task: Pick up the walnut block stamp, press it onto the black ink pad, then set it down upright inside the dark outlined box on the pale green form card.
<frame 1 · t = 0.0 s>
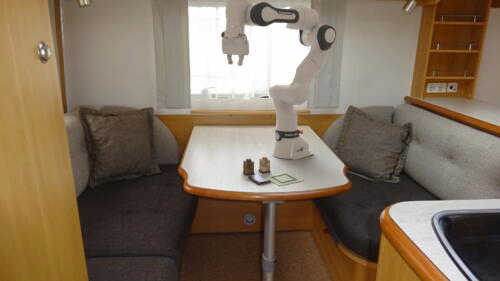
hand: (235, 64, 169), 48 cm above the table, fingers open, 8 cm apart
walnut stamp: (248, 173, 167), on the table
form card: (283, 178, 162), on the table
ink pad: (259, 180, 159), on the table
beech stamp: (264, 171, 170), on the table
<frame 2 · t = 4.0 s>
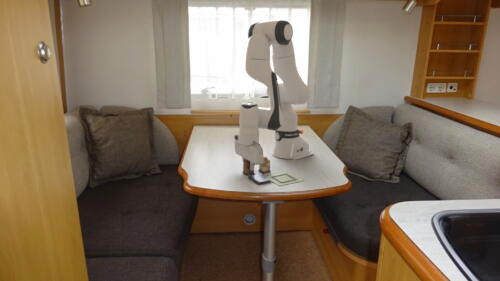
hand: (248, 168, 167), 3 cm above the table, fingers closed on walnut stamp, 4 cm apart
walnut stamp: (248, 173, 167), on the table, touching gripper
everything else where it was.
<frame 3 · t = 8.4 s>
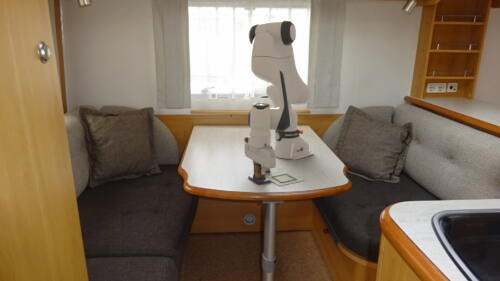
hand: (259, 172, 158), 4 cm above the table, fingers closed on walnut stamp, 4 cm apart
walnut stamp: (259, 177, 159), point 1 cm above the table, touching gripper, ink pad
everything else where it was.
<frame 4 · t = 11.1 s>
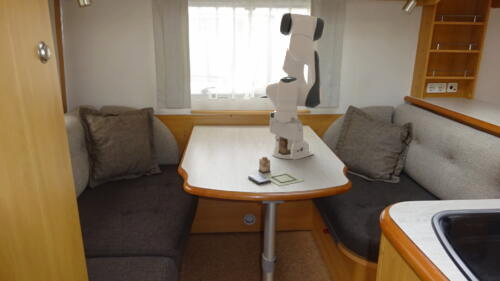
hand: (285, 147, 158), 14 cm above the table, fingers closed on walnut stamp, 4 cm apart
walnut stamp: (284, 153, 158), point 12 cm above the table, touching gripper
everything else where it was.
when the fingers open (3 cm above the table, at t = 13.2 s): walnut stamp stays where it is, resting on form card.
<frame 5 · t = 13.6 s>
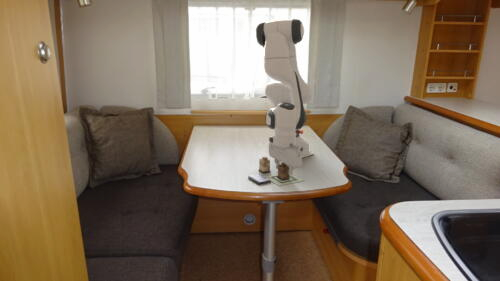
hand: (284, 171, 161), 3 cm above the table, fingers open, 7 cm apart
walnut stamp: (283, 178, 161), resting on form card
everything else where it was.
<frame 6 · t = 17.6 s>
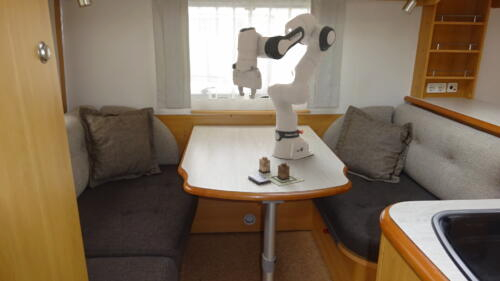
hand: (246, 97, 164), 34 cm above the table, fingers open, 8 cm apart
nothing on the table moved.
at the end: walnut stamp 0.2 cm off-centre on the form card, point 0.2 cm above the form card's base; walnut stamp tilted 0°; the gripper is holding nothing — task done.
